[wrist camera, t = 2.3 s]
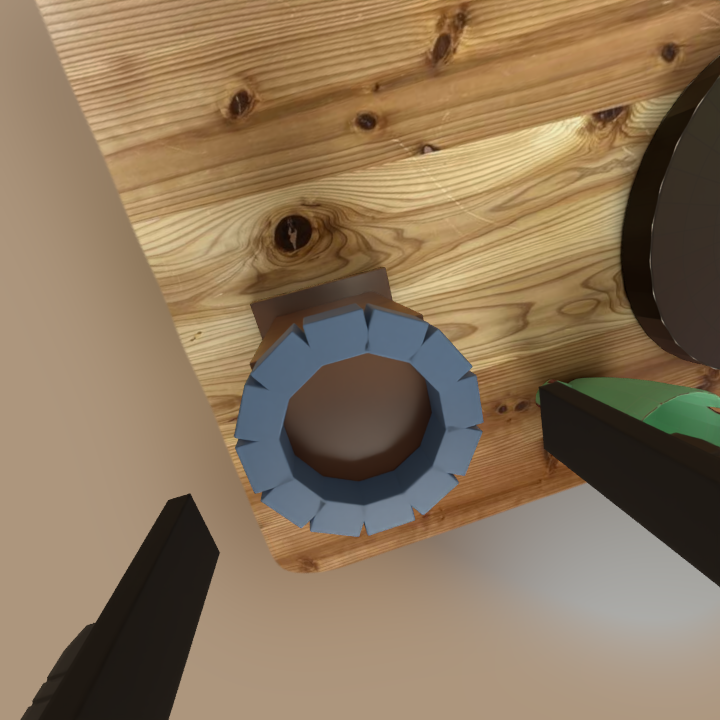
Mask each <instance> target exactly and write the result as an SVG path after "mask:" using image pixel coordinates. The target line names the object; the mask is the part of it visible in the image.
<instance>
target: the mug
mask: <svg viewBox="0 0 720 720" xmlns="http://www.w3.org/2000/svg"><path fill="white" fill-rule="evenodd" d="M556 381H557V380H554V379H550V380H548V381H547V382H546V383H544V384H543V385H546V384H549V383H553V382H556ZM558 382H560V381H558ZM560 383H563V384H565V385H567V386H569V387H571V388H573V389H575V390H577V391H579V392H582V393H584V394H586V395H588V396H590V397H592V398H594V399H596V400H598V401H601V402H603V403H605V404H607V405H609V406H611V407H613V408H615V409H617V410H620V411H622V412H624V413H626V414H628V415H630V416H632V417H634V418H636V419H639V420H641V421H643V422H645V423H647V424H649V425H651V426H653V427H655V428H658V429H660V430H662V431H664V432H666V433H668V434H672V433H675V432H677V433H681V434H684V435H688V436H692V437H696V438H700V439H703V440H705V441H708V442H710V443H712V444H714V445H716V446H719V447H720V413H719V412H716V411H714V410H713V409H711V408H710V407H716V408H720V397H719V396H717V395H716V394H714V393H711V392H708V391H704V390H700V389H695V388H690V387H685V386H678V385H672V384H666V383H660V382H654V381H646V380H638V379H629V378H609V377H596V378H579V379H575V380H573V381H571V382H569V383H568V384H567V383H564V382H560ZM543 385H542V386H543ZM536 405H537V406H538V407H540V397H539V390H538V392H537V394H536Z"/></svg>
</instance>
